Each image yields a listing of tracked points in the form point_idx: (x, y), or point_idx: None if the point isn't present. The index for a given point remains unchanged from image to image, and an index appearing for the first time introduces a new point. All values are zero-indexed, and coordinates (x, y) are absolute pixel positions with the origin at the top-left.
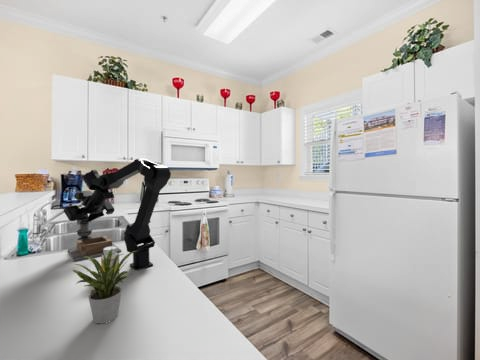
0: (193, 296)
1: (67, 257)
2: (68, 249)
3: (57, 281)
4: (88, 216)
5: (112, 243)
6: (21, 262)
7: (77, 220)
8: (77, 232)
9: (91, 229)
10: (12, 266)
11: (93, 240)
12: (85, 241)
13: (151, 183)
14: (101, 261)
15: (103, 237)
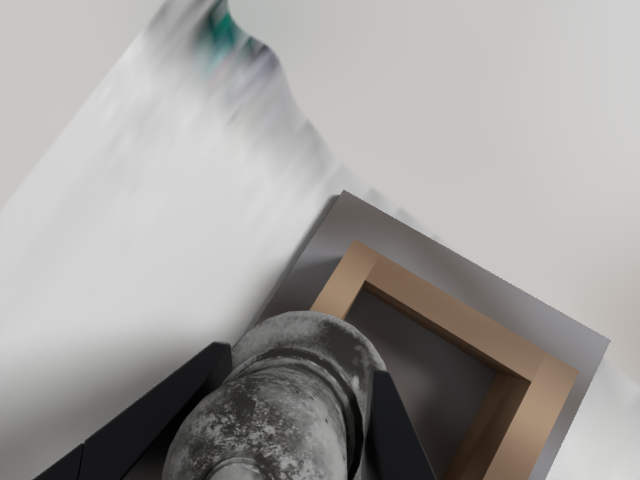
0: None
1: (236, 315)
2: (338, 199)
3: None
4: (377, 473)
5: (570, 418)
6: (124, 141)
7: (152, 404)
8: (236, 363)
9: (360, 467)
10: (72, 159)
11: (449, 333)
12: (393, 298)
13: None
14: None
15: (516, 413)
